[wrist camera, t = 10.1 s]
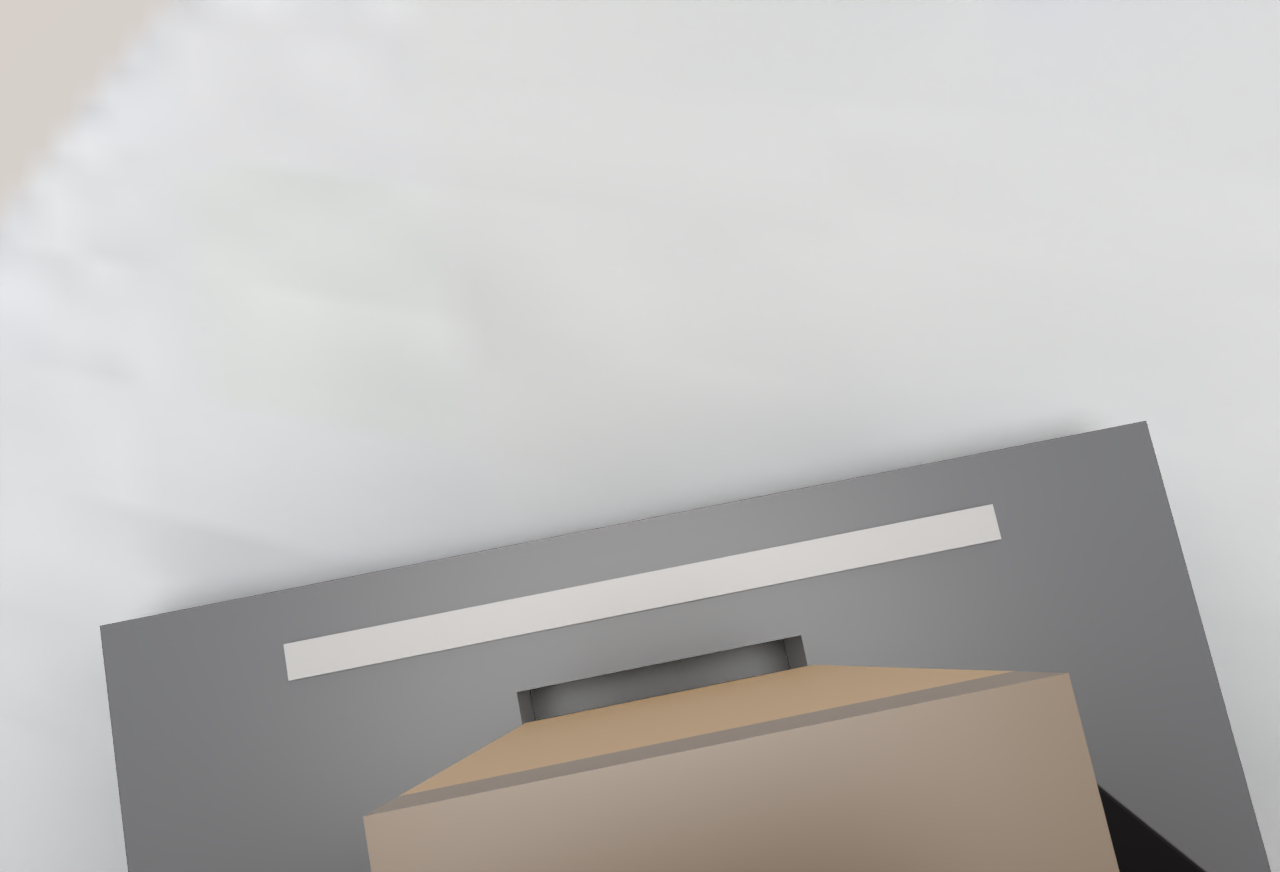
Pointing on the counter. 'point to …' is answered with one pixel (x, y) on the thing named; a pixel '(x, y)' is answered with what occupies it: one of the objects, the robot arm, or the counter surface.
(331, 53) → the counter surface
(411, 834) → the plug
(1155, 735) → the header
